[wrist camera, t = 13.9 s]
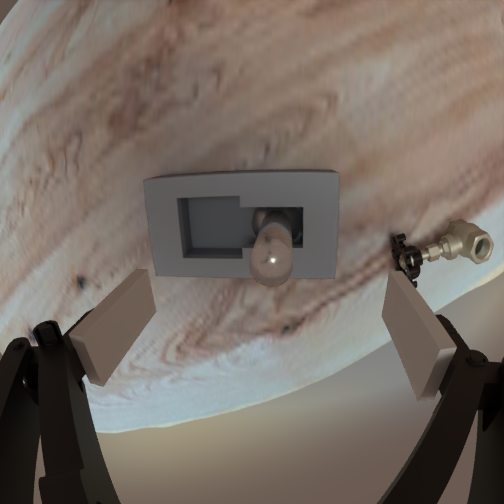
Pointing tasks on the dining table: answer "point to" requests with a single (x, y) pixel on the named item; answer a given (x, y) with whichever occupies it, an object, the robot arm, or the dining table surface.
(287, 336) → the dining table surface
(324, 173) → the keyhole board
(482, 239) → the valve
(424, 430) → the robot arm
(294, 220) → the flanged metal peg
